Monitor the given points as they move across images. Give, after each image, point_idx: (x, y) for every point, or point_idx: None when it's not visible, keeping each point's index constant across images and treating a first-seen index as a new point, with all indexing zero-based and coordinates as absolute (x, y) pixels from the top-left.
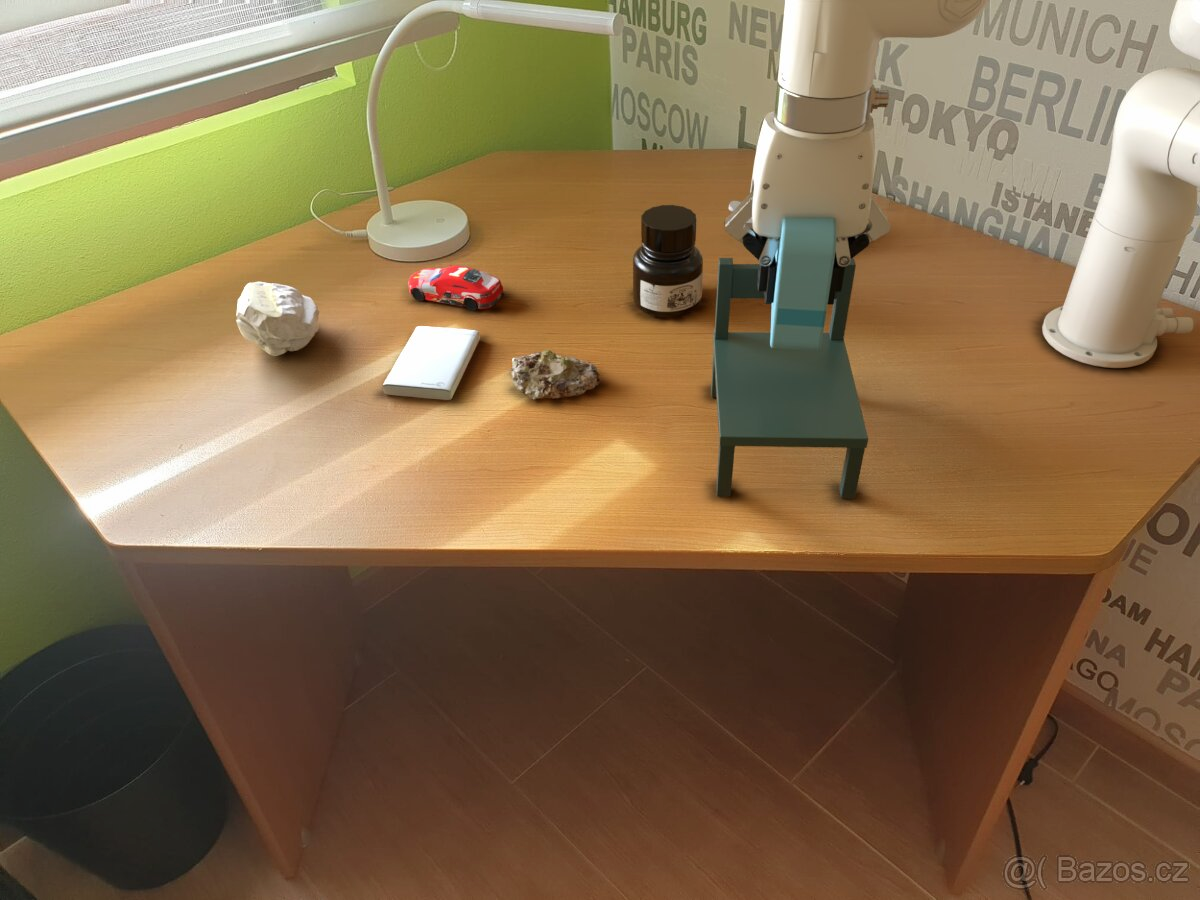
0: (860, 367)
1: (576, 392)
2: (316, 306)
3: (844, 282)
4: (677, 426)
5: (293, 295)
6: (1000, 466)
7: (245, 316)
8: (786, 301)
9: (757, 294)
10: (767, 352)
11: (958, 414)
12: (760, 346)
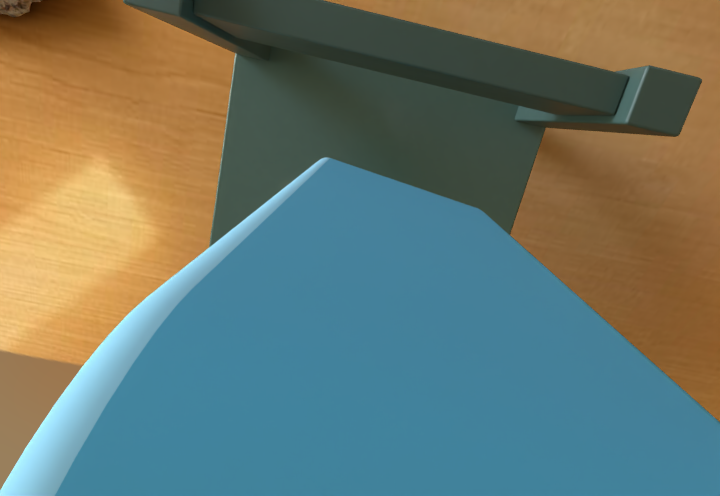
0: (595, 30)
1: (10, 13)
2: None
3: (604, 127)
4: (202, 143)
5: None
6: (665, 336)
7: None
8: None
9: (315, 55)
10: (348, 138)
11: (685, 210)
12: (340, 109)
